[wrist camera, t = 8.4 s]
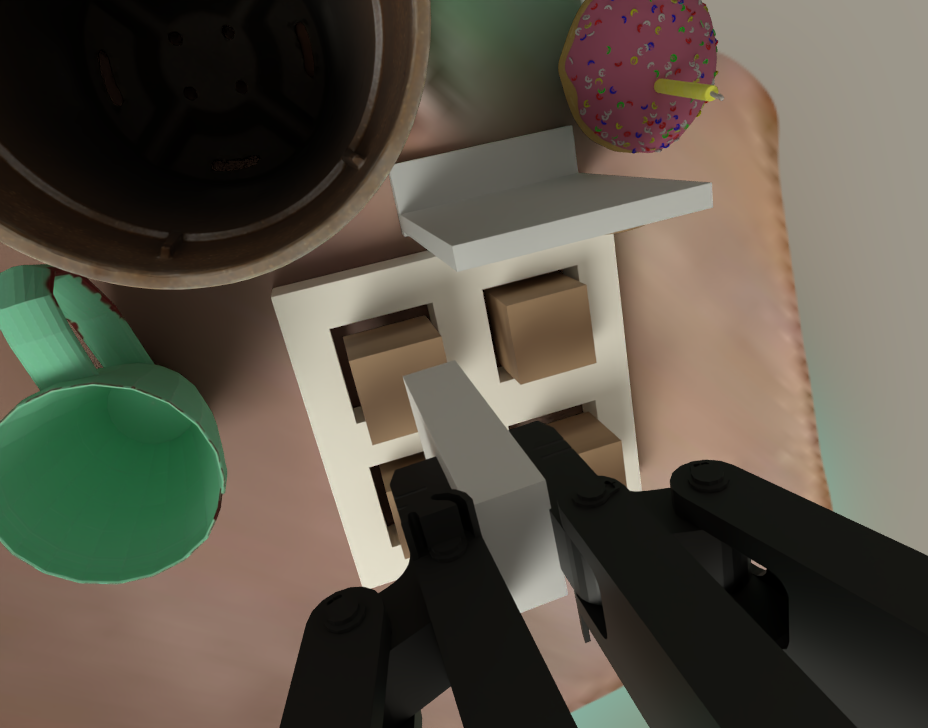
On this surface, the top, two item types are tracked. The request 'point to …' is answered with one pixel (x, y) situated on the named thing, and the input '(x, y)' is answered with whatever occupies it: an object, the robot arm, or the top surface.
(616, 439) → the button
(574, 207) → the card
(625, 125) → the cupcake
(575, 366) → the button
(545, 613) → the top surface
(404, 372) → the button
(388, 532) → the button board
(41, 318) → the mug
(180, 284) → the plant pot
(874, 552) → the robot arm
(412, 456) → the button
